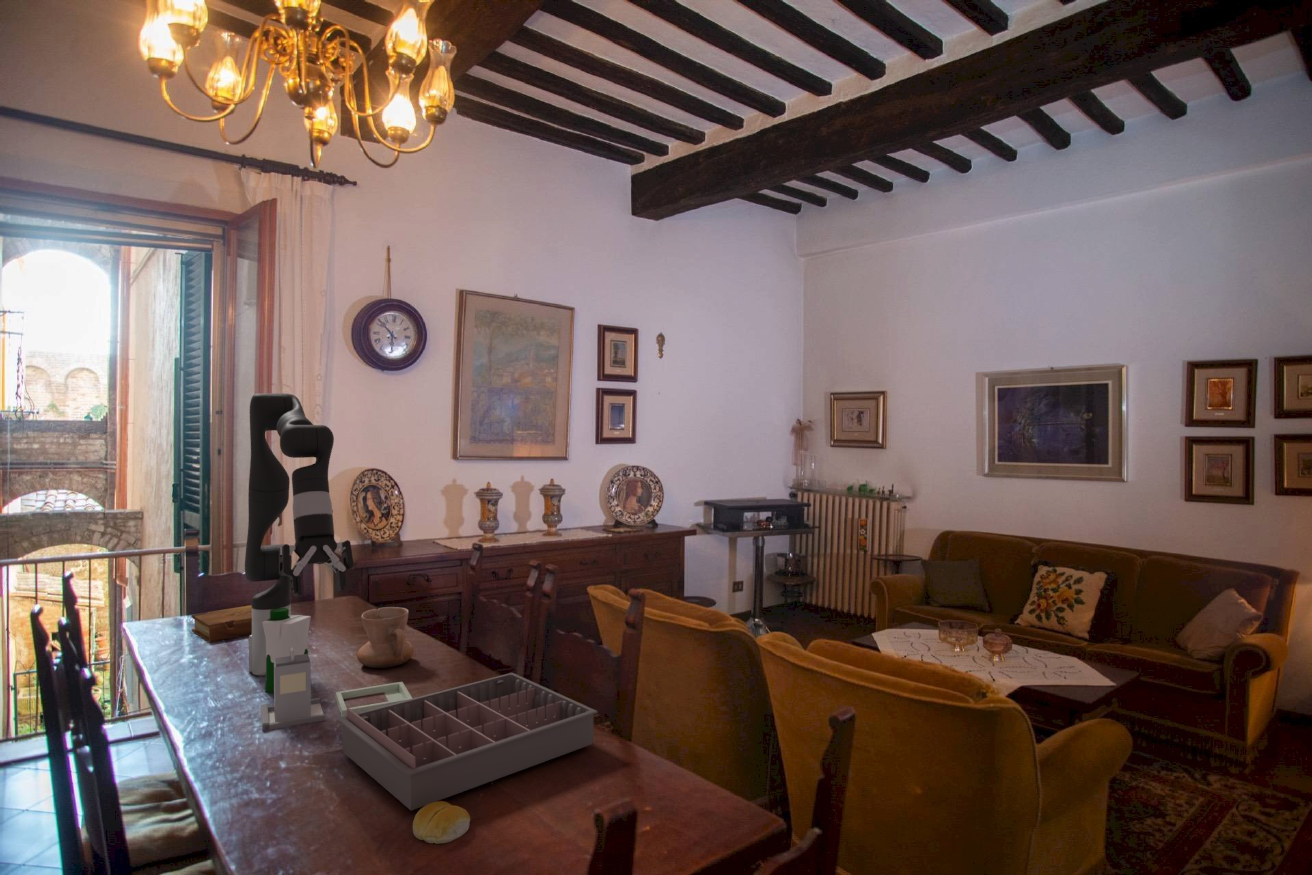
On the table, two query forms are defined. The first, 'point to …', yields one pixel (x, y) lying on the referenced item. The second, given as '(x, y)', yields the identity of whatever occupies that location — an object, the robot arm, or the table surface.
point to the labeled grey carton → (292, 687)
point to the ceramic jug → (385, 638)
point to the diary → (224, 623)
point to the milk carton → (283, 639)
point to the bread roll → (440, 822)
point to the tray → (391, 691)
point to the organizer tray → (463, 736)
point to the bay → (270, 723)
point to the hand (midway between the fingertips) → (319, 593)
